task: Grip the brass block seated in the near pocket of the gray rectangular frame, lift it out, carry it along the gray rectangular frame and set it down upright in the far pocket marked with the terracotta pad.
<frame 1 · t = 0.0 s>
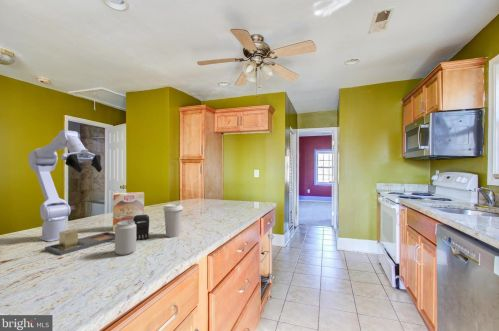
hand: (90, 170, 96), 32 cm above the counter, tool tilted 50°, fingers open, 7 cm apart
can: (125, 253, 91), on the counter
coffee cup: (172, 235, 115), on the counter
gray rectangular frame: (86, 243, 102), on the counter
coffeecake box: (128, 228, 127), on the counter
battery charger: (141, 239, 108), on the counter
brass block: (68, 248, 95), resting in gray rectangular frame
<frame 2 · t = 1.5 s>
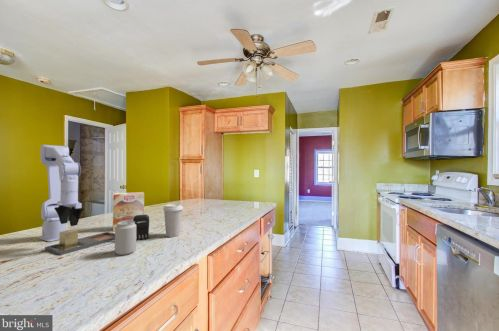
hand: (68, 224, 95), 10 cm above the counter, tool pointing down, fingers open, 7 cm apart
nothing on the counter moved.
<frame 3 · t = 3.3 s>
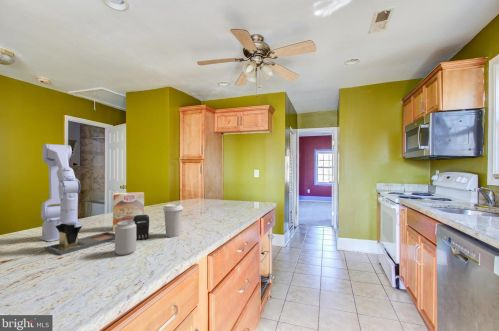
hand: (68, 242, 95), 2 cm above the counter, tool pointing down, fingers closed on brass block, 4 cm apart
brass block: (68, 248, 95), resting in gray rectangular frame, touching gripper
everything else where it was.
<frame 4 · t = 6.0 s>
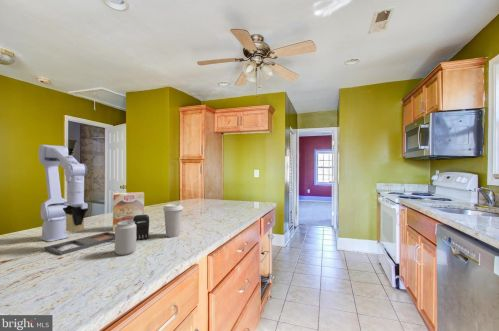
hand: (75, 224, 98), 9 cm above the counter, tool pointing down, fingers closed on brass block, 4 cm apart
brass block: (74, 230, 97), point 7 cm above the counter, touching gripper
everything else where it was.
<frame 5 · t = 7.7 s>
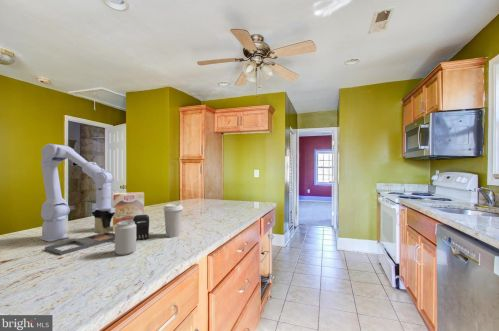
hand: (103, 226, 108), 6 cm above the counter, tool pointing down, fingers closed on brass block, 4 cm apart
brass block: (102, 232, 108), point 3 cm above the counter, touching gripper
everything else where it was.
when the fingers open (4 cm above the counter, at t = 9.0 s): brass block drops 1 cm, resting on gray rectangular frame.
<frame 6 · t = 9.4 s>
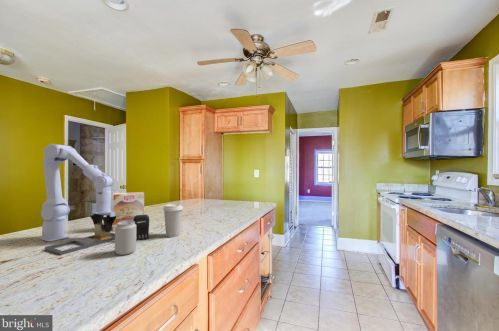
hand: (103, 230, 108), 4 cm above the counter, tool pointing down, fingers open, 7 cm apart
brass block: (102, 238, 108), resting on gray rectangular frame
everything else where it was.
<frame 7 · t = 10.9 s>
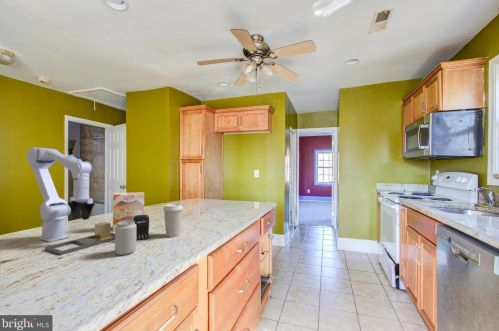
hand: (81, 218, 104), 10 cm above the counter, tool pointing down, fingers open, 7 cm apart
nothing on the counter moved.
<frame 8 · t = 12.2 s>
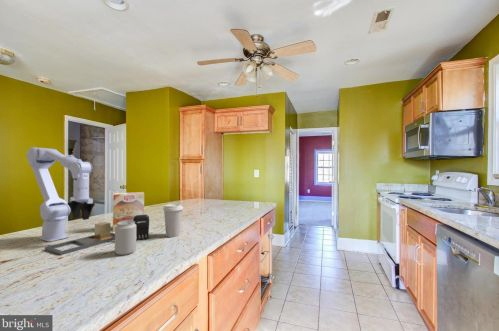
hand: (81, 218, 104), 10 cm above the counter, tool pointing down, fingers open, 7 cm apart
nothing on the counter moved.
at the end: brass block 0.3 cm from the target spot on the gray rectangular frame, point 0.3 cm above the gray rectangular frame's base; brass block tilted 0°; the gripper is holding nothing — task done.
